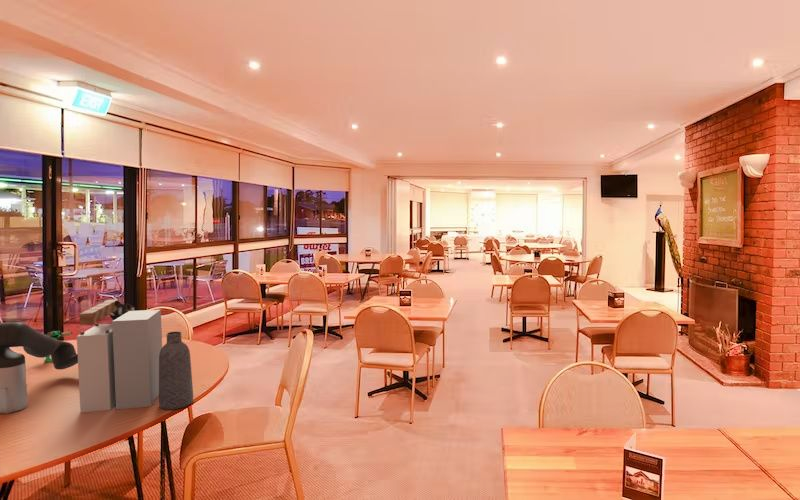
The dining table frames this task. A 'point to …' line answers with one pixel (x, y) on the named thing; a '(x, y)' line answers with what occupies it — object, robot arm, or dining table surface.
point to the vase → (175, 374)
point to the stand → (120, 362)
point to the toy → (55, 335)
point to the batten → (98, 312)
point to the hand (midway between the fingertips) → (109, 302)
